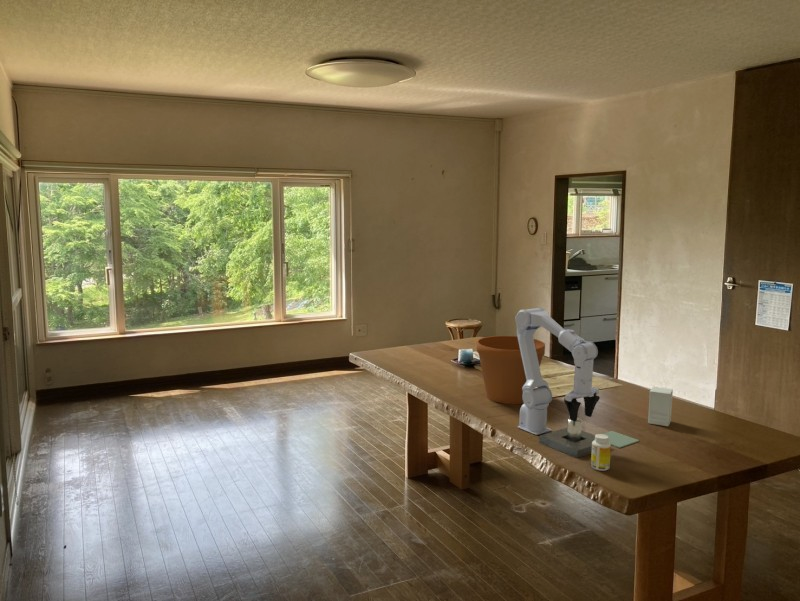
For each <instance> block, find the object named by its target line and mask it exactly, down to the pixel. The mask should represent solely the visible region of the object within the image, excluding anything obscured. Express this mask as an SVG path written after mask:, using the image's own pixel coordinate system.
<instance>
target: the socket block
mask: <svg viewBox="0 0 800 601" xmlns="http://www.w3.org/2000/svg"><path fill="white" fill-rule="evenodd" d="M595 435H596V434H593V433H590V432H587V431H585V430H583V429H581V441H578V442H572V441H570V440H567V427H565V428H561V429H557V430H553V431H549V432H546V433H542V434H539V437H538V438H539V440H538V441H539V442H538V443H540V444H542V445H545V446H546V447H549V448H552V449H553V450H554V449H555V450H557V451H559V452H561V453H564V454H566V455H569V456H570V457H574V458H576V459H579V458H581V457H584V456H588V455H590V454H591V453H592V442H593V441H594V440H595ZM608 442H609V441H608Z"/></svg>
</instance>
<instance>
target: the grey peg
mask: <svg viewBox="0 0 800 601" xmlns="http://www.w3.org/2000/svg"><path fill="white" fill-rule="evenodd" d="M582 422H583V421H582V418H580V417H577V420H576V421H572V420H570V417H568V418H567V426H566V428H567V440H570V441H572V442H578V441H581V430H582Z"/></svg>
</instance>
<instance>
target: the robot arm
mask: <svg viewBox="0 0 800 601" xmlns="http://www.w3.org/2000/svg"><path fill="white" fill-rule="evenodd" d="M514 319H515V325H516V336H517V337H518V342H519V347H520V351H521V356H522V361H523V366H524V370H525V375H526V380H527V381H526V383H525V384H524V386H523V387H522V390H523V395H522V399H523V402H524V403H522V405H521V407H520V409H519V421H518V422H519V423H518V424H519V425H517V428H518V429H521V430H523V431H525V432H527V433H531V434H533V435H535V436H538V435H539V436H540V435H543V434H546V433H550V432H552V429H551V428H549V427H547V423H548V420H547V419H548V407H549V406H550V404H549V403H551V402H552V400H553V393H552V390H551V389H550V387H549V383H548V382H547V381H546V380H545V379H543V377H542V372H541V368H540V367H541V366H540V367H539V362H538V357H537V353H536V348H535V343H534V339H535V338H534V335H535V333H536V332H537V330H539V328H541V327H542V328H544V329H546V331H548V332H549V333H551V334H552V335H554V336H555V337H556V338H558V343H559V344H560V345H562V347H564V348H565V349H566V350H568V351H569V352H571V355H572V357H573V364H574V377H573V390H571V391H570V392H568V393H566V394H565V397H564V398H563V401H564V403H565V406H566V408H567V410H568V415H569V418H570V420H572V421H576V420H577V418H578V414H579V410H580V407H581V405H582V402H580V401H578V400H579V399H581V398H583V402H584V415H585V416H587V417H588V418H592V416H593V413H594V410H595V408H596V406H597V404H598V402H599V400H600V398H601V397H600V396H599V395H600V394H599V393H600V389H599V388H597V387H593V373H594V362H595V361H594V359H596V358H597V357H598V354H599V350H598V347H597V345H596V344H595V343H594V342H593V341H586V339H584V338H583V337H581V336H579V335H578V334H577V333H576V331H575V330H574V329H564V328H563V326H561V325H560V324H559V323H558V322H556V320H555V319H553V318H552V317H551V316H550V315H549V312H548V311H547V310H545V309H544V308H543V307H537V308H527V309H520V310H519V311H518V312H517V314H516V315H515V317H514Z"/></svg>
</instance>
